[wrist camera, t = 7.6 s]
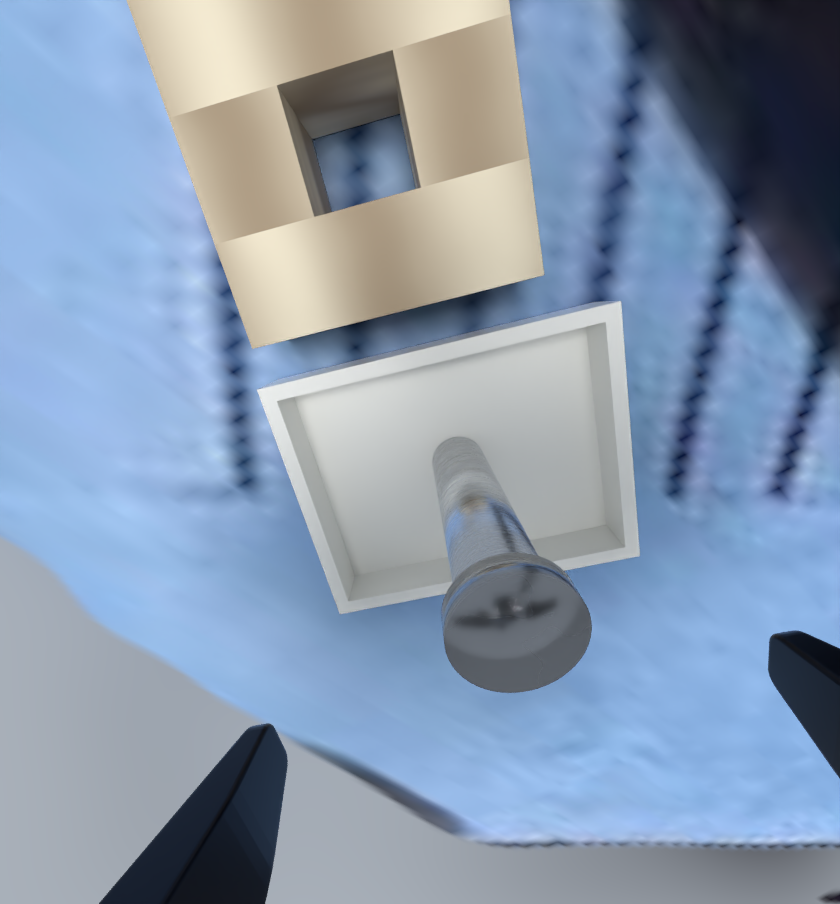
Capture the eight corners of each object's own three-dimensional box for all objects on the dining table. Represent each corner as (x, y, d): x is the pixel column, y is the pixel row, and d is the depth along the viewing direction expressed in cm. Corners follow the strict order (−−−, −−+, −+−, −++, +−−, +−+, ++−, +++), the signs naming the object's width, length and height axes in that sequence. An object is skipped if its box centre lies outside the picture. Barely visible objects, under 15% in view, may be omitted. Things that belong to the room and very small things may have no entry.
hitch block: (470, -30, 14) (488, -155, 10) (517, 282, 17) (544, 275, 13) (194, 57, 15) (116, -29, 11) (288, 340, 18) (252, 348, 14)
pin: (486, 421, 19) (584, 559, 8) (497, 484, 20) (597, 676, 9) (416, 437, 19) (429, 592, 9) (431, 499, 20) (460, 704, 10)
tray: (593, 302, 17) (621, 301, 15) (615, 527, 21) (640, 555, 19) (278, 379, 18) (257, 389, 16) (348, 581, 22) (339, 614, 20)
